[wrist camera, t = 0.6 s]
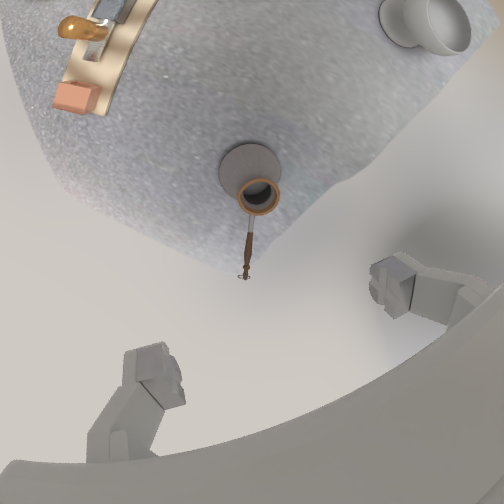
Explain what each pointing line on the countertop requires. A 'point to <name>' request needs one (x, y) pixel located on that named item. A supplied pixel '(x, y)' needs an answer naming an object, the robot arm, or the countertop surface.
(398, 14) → the chalice
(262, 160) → the coffee pot
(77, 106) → the socket
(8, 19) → the countertop surface
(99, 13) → the sleeve
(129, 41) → the board
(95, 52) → the tube
